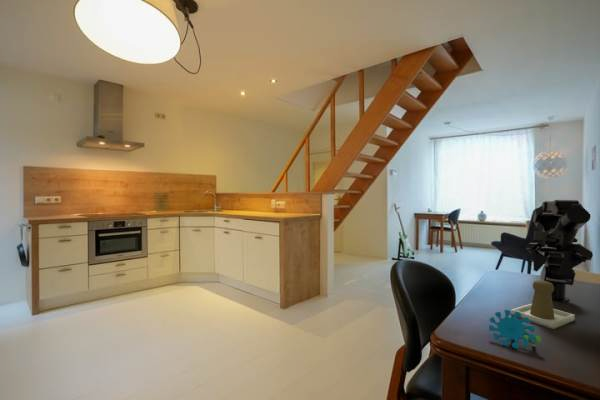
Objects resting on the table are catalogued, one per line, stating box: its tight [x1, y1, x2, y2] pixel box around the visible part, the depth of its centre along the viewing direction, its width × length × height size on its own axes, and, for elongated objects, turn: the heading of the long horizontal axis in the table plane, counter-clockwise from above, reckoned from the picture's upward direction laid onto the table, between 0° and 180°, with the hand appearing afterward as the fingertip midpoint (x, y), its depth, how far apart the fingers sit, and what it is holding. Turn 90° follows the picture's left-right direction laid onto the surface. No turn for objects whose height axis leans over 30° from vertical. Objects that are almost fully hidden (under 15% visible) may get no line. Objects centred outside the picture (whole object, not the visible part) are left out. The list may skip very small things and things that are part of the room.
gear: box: [488, 309, 542, 350], centre depth 77 cm, size 11×6×10 cm
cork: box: [530, 279, 555, 320], centre depth 93 cm, size 6×6×11 cm
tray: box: [510, 303, 576, 330], centre depth 93 cm, size 14×11×2 cm
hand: (547, 272), depth 99 cm, fingers open, 9 cm apart
